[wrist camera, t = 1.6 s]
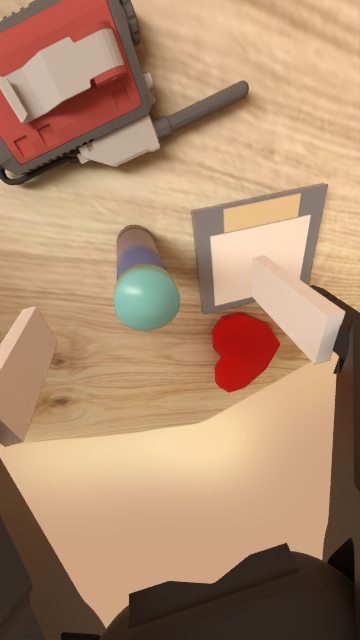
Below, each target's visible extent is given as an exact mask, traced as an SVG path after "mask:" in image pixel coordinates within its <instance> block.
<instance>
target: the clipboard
mask: <svg viewBox="0 0 360 640" xmlns="http://www.w3.org/2000/svg"><path fill="white" fill-rule="evenodd" d="M327 187H328V184H324V183H322V184H317V185H312V186H307V187H302V188H298V189H293V190H288V191H283V192H278V193H273V194H269V195H264V196H259V197H254V198H249V199H244V200H240V201H235V202H230V203H225V204H220V205H216V206H211V207H206V208H201V209H196V210H191V215H192V224H193V234H194V243H195V252H196V261H197V270H198V280H199V289H200V298H201V307H202V312H203V314H204V315H205V314H209V313H213V312H217V311H221V310H225V309H229V308H233V307H237V306H241V305H245V304H249V303H253V302H256V300H255V299H254V298H253V297H252V296H251V292H252V264H253V257H258V256H262V255H265V256H267V257H268V258H269V259H271V260H272V261H274V262H275V263H277V264H278V265H279V266H281V267H282V268H284V269H285V270H287V271H288V272H289V273H291V274H292V275H294V276H295V277H297V278H298V279H299V280H301V281H302V282H304V283H305V284H307V285H308V283H309V278H310V273H311V268H312V263H313V258H314V253H315V248H316V243H317V237H318V232H319V227H320V222H321V217H322V212H323V207H324V202H325V197H326V192H327Z"/></svg>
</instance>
